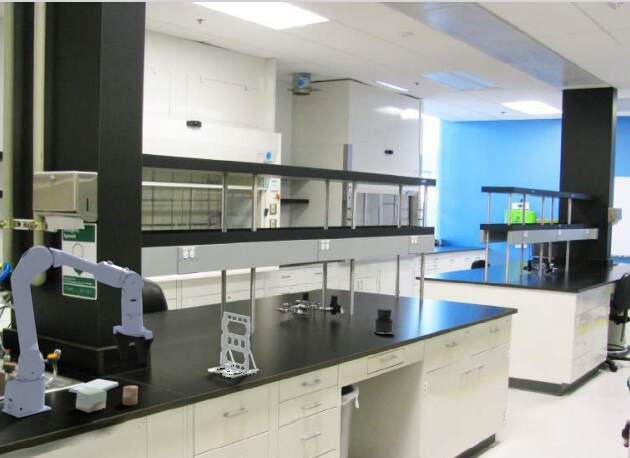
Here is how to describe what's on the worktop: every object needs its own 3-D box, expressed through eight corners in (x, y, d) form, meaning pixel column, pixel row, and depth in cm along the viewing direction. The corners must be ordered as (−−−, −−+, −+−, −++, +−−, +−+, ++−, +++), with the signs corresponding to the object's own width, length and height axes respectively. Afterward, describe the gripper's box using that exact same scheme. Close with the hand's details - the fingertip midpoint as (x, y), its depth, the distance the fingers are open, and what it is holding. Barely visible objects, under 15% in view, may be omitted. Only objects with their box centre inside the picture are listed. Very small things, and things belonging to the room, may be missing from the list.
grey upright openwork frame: (203, 370, 220) (206, 313, 220) (233, 364, 231) (235, 309, 230) (231, 379, 211) (234, 319, 210) (261, 372, 221) (263, 315, 221)
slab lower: (88, 413, 170) (88, 404, 170) (75, 409, 173) (76, 400, 173) (105, 409, 175) (105, 400, 175) (92, 404, 178) (93, 396, 178)
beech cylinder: (128, 406, 177) (129, 390, 177) (119, 403, 180) (120, 387, 179) (140, 403, 181) (140, 387, 181) (130, 400, 183) (131, 384, 183)
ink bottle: (393, 332, 308) (394, 308, 308) (393, 336, 300) (394, 311, 299) (373, 331, 309) (374, 307, 309) (373, 334, 301) (374, 309, 300)
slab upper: (89, 404, 170) (89, 395, 170) (76, 400, 173) (77, 391, 173) (106, 400, 175) (106, 391, 175) (93, 395, 178) (94, 387, 178)
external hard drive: (118, 387, 197) (90, 397, 185) (97, 383, 200) (68, 393, 188) (118, 382, 197) (90, 392, 185) (97, 378, 200) (68, 387, 188)
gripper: (160, 313, 180) (161, 361, 180) (126, 309, 188) (127, 354, 189) (140, 318, 174) (142, 366, 175) (106, 312, 182) (108, 359, 183)
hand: (133, 360), depth 181 cm, fingers open, 7 cm apart
